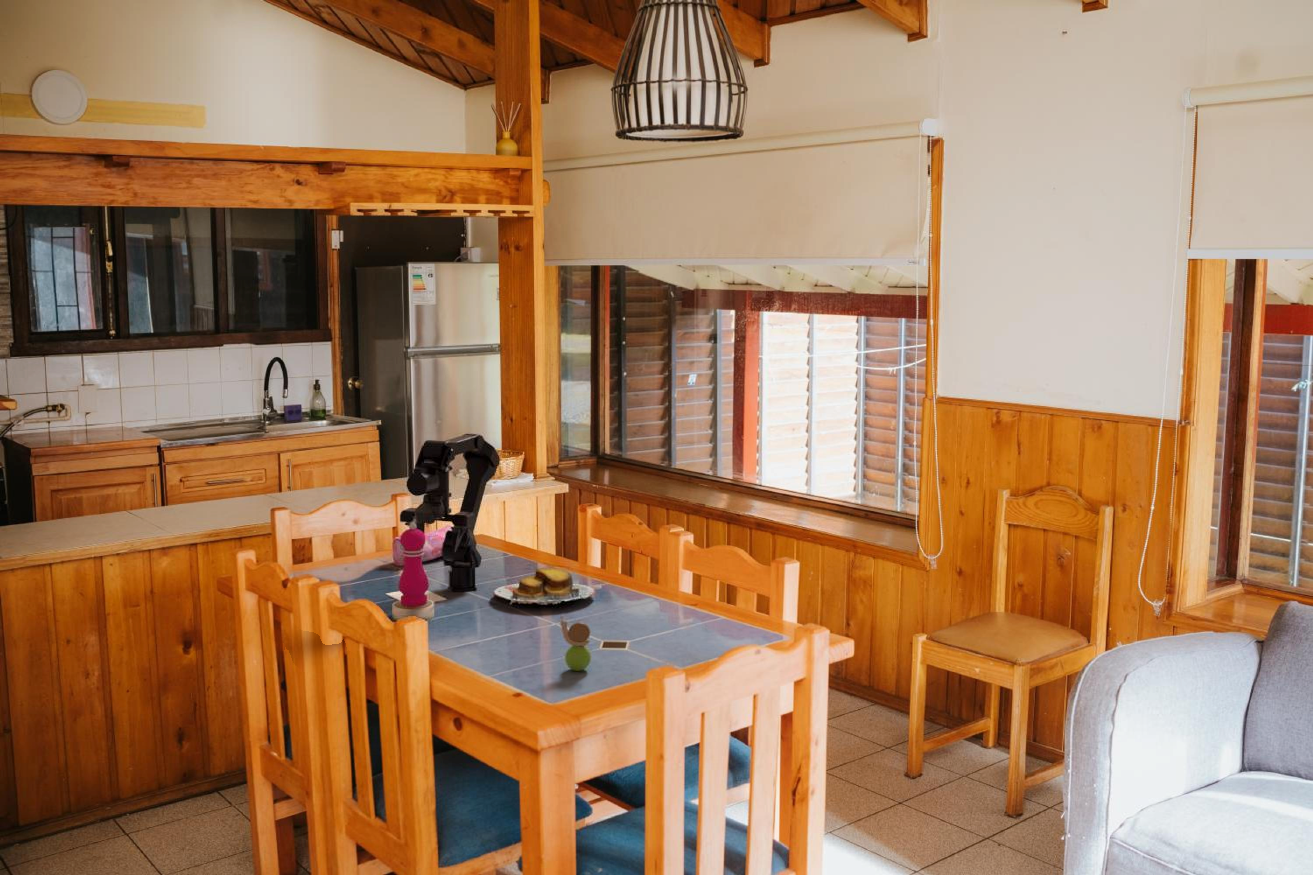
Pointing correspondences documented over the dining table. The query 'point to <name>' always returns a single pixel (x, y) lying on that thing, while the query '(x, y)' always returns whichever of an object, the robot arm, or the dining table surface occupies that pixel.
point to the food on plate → (545, 588)
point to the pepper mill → (413, 568)
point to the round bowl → (413, 610)
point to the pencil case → (430, 547)
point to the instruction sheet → (430, 595)
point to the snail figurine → (577, 645)
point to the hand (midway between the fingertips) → (437, 550)
